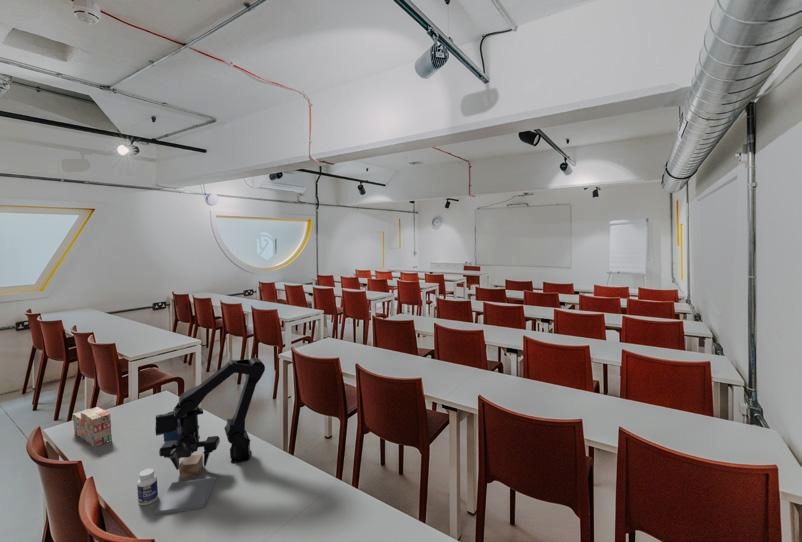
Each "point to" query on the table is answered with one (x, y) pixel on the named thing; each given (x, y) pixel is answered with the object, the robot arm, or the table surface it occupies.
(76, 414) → the stack of blocks
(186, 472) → the tan wooden block
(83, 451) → the table surface
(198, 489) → the base plate
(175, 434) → the soda can
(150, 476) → the pill bottle
